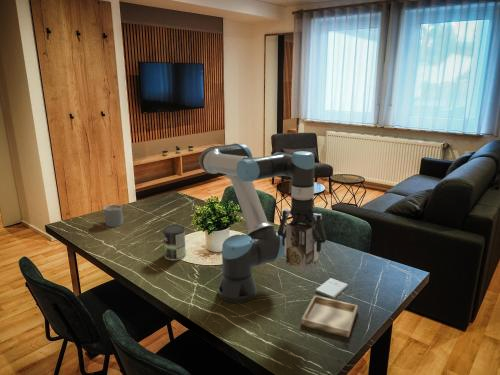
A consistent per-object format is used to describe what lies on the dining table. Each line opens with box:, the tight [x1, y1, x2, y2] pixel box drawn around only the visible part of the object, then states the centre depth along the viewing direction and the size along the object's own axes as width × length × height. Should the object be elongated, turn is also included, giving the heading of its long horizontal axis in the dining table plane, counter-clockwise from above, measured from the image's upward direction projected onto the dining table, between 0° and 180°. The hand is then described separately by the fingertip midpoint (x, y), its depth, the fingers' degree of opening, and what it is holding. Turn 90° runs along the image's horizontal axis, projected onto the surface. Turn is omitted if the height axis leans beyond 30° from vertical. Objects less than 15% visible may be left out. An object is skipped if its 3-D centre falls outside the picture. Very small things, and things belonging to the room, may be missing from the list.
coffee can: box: [162, 224, 187, 261], centre depth 187 cm, size 10×10×14 cm
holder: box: [300, 295, 359, 339], centre depth 141 cm, size 17×17×2 cm
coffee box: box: [285, 221, 318, 274], centre depth 138 cm, size 9×6×16 cm
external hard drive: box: [314, 277, 348, 300], centre depth 160 cm, size 2×8×12 cm
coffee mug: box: [103, 204, 124, 228], centre depth 228 cm, size 13×10×10 cm
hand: (301, 256), depth 139 cm, fingers closed on coffee box, 10 cm apart
